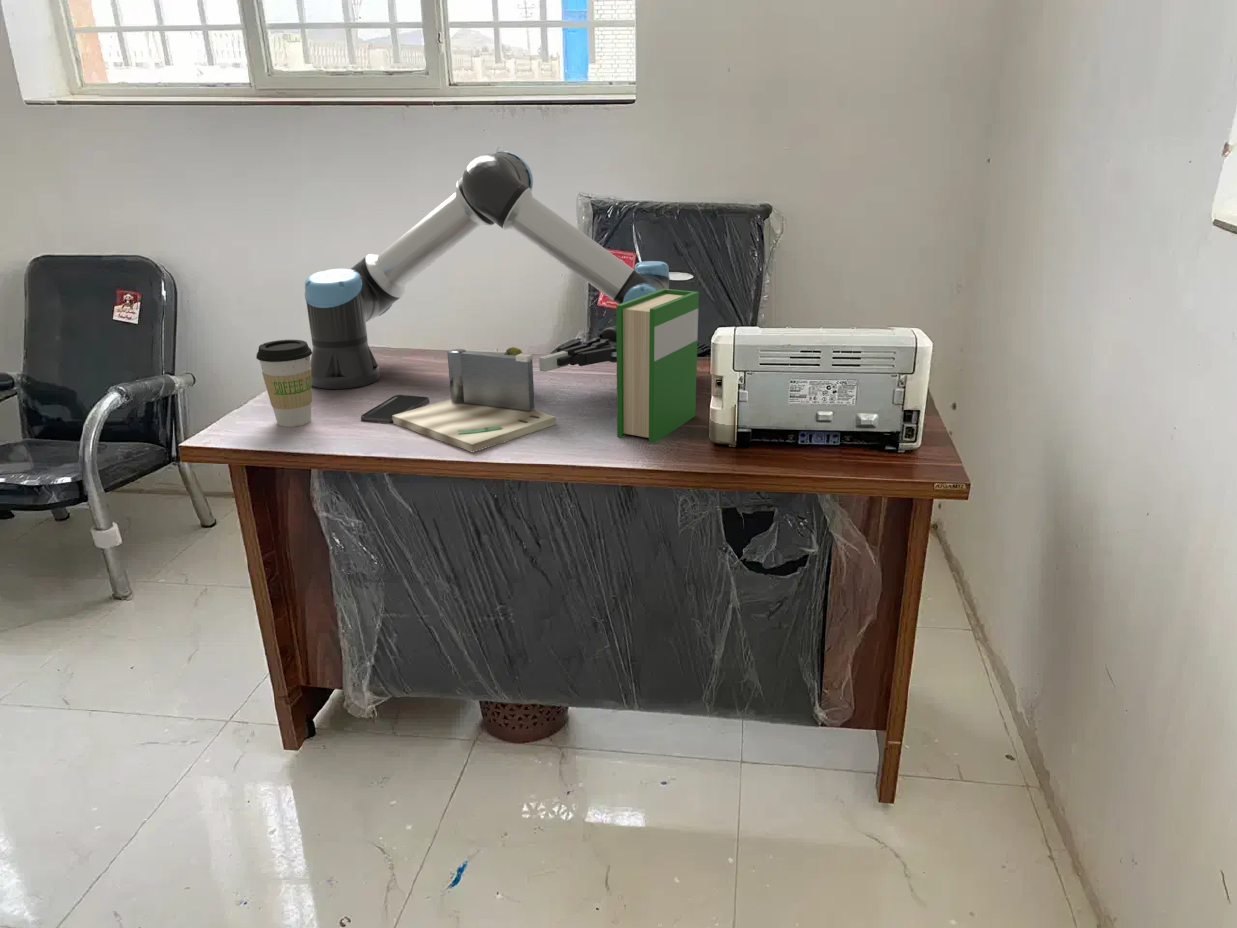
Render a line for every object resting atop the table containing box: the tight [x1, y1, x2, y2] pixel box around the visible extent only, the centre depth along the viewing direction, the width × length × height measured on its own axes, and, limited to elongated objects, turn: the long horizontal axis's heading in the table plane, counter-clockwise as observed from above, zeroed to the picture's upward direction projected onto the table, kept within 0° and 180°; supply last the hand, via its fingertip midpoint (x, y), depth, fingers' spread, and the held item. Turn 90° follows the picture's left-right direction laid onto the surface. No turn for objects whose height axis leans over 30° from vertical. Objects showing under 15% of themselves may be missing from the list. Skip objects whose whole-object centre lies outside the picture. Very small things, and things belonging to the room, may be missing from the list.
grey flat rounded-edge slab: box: [447, 348, 535, 411], centre depth 170 cm, size 18×4×11 cm, turn 68°
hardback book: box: [615, 288, 700, 444], centre depth 161 cm, size 18×7×24 cm, turn 150°
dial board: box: [392, 398, 557, 453], centre depth 167 cm, size 24×20×2 cm
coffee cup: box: [255, 339, 313, 428], centre depth 166 cm, size 10×10×15 cm
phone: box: [360, 394, 430, 425], centre depth 175 cm, size 8×1×15 cm
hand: (542, 364), depth 172 cm, fingers closed
